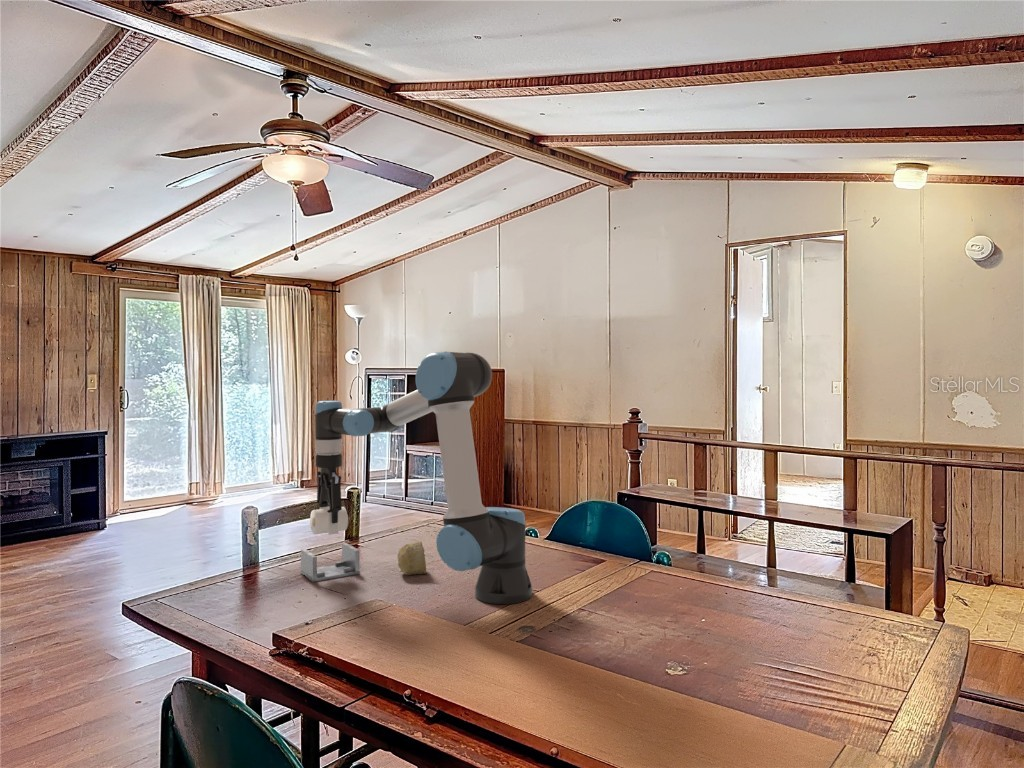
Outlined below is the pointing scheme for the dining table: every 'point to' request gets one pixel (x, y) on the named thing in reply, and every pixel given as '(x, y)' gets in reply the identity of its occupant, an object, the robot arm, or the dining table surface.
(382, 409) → the robot arm
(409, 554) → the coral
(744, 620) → the dining table surface
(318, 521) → the roll
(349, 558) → the cradle
